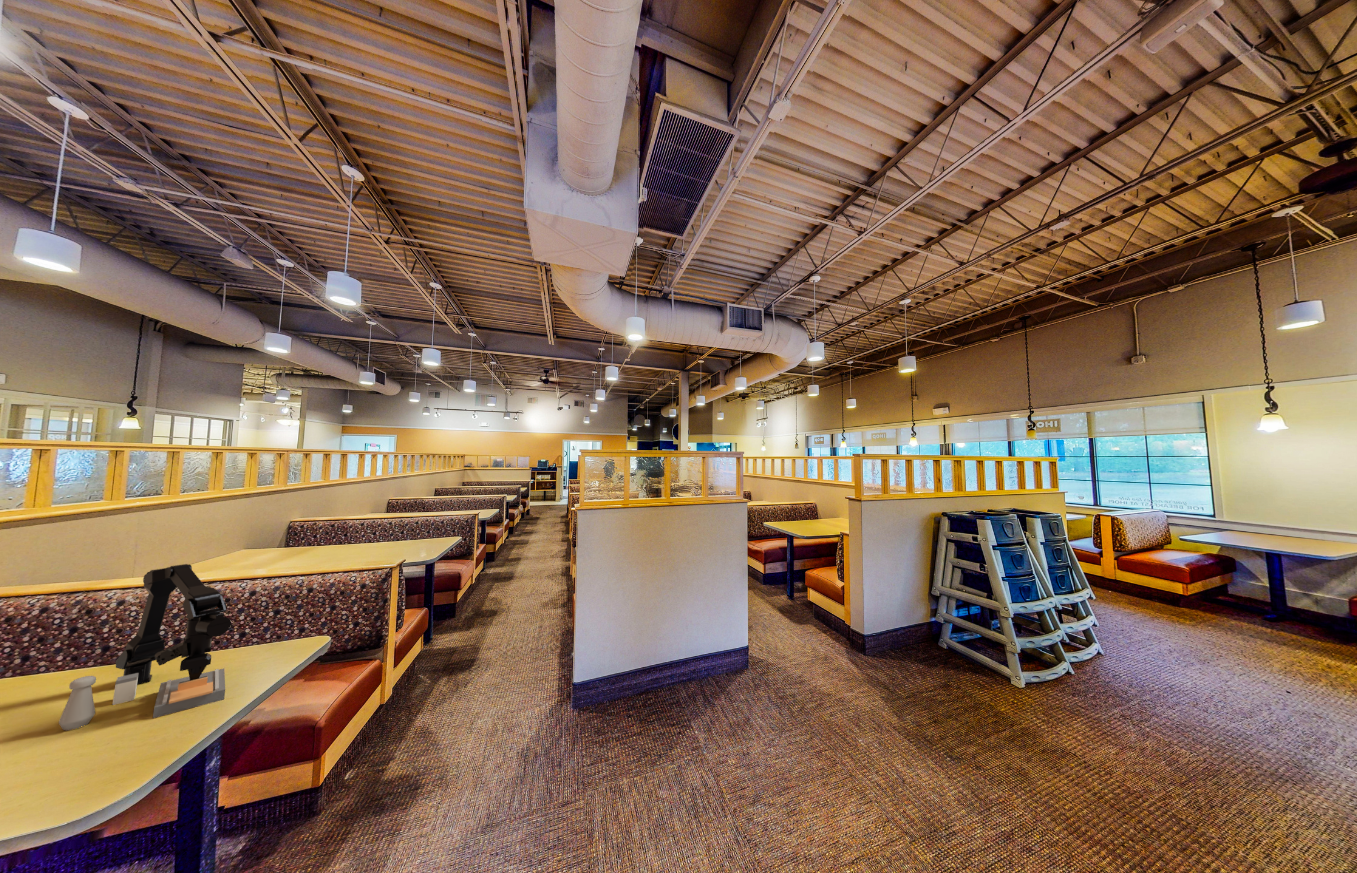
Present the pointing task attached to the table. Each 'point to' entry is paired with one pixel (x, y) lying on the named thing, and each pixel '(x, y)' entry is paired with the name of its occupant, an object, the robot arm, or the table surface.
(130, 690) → the plug
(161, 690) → the socket block
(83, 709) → the salt shaker
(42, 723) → the table surface
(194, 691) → the shutter
